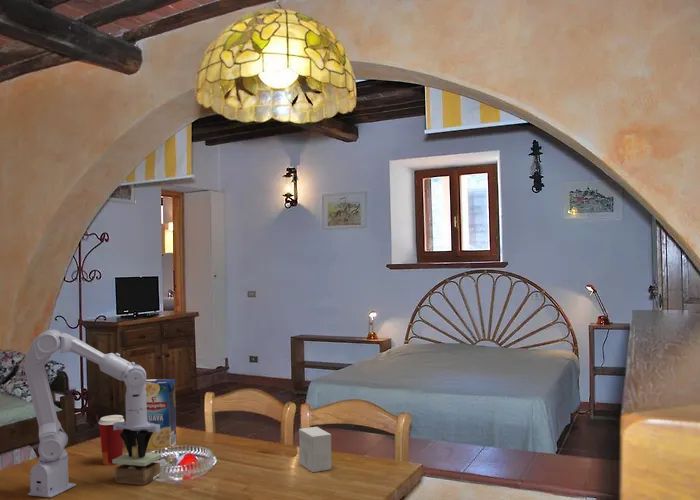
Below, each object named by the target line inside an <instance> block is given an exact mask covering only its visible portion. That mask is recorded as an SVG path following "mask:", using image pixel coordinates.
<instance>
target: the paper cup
mask: <svg viewBox="0 0 700 500" xmlns="http://www.w3.org/2000/svg"><path fill="white" fill-rule="evenodd" d="M116 422H126V419H124V416H123V415H121V414H110V415H105V416H102V417H100V419H99V421H98V422H97V423H98V424H99V432H100V433H99V434H100V435H99V436H100V447H101V457H102V464H103V465H104V466H115V465H116V464H114V463H112V460H113V459H115V458H117V457H119V456H122V455H123V449H124V447H123V446H124V441H123V439H122V438H121V436H120V433H122V431H123V430H113V423H116Z"/></svg>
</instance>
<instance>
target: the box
mask: <svg viewBox="0 0 700 500" xmlns="http://www.w3.org/2000/svg"><path fill="white" fill-rule="evenodd" d="M131 466H133V467H135V468H136V469H128V468H129V467H131ZM142 468H147V469H145V470H140V469H142ZM159 473H160V474H161V464H160V462H156V461H154V462H152V463H150V464H148V465H146V466H137V465H126V464H119V465H118V466H116V467H115V468H114V480H115V483H118V484H119V483H120V484H127V485H128V484H129V485H140V486H146V485H149V484H150V483H152V482H153V477H154V476H156V475H157V474H159Z"/></svg>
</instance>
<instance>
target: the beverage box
mask: <svg viewBox="0 0 700 500" xmlns="http://www.w3.org/2000/svg"><path fill="white" fill-rule="evenodd" d="M145 385H146V390H145V391H146V398H147V422H149V423H153V424H159V425H160V432H157V433H153V434H152V436H151V438H150V440H149V442H148V445H147V449H146V450H158V449H157V448H162V447H168V446H173V447H174V446H175V445H176V444H177V443H178V441H177V440H178V439H177V403H176V378H170V379H168V378H167V379H166V378H163V379H162V378H161V379H158V378H156V379H146V382H145ZM139 432H140V431H138V432H137V433H139Z"/></svg>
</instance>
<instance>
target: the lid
mask: <svg viewBox="0 0 700 500" xmlns="http://www.w3.org/2000/svg"><path fill="white" fill-rule="evenodd" d="M161 458H162V453H152V452H151V453H149V452H146V454H145V456H143V457H141V458H140V457H139V455H138V444H136V445H135V446H132V456H131V457H129V455H128V452H126V453H124V454H122V456H119V457H117V458H115V459H113V460H112V463H114V464H115V465H122V464H126V465H137V466H146V465H148V464H150V463H152V462H156V461H158V460H160V459H161Z"/></svg>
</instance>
